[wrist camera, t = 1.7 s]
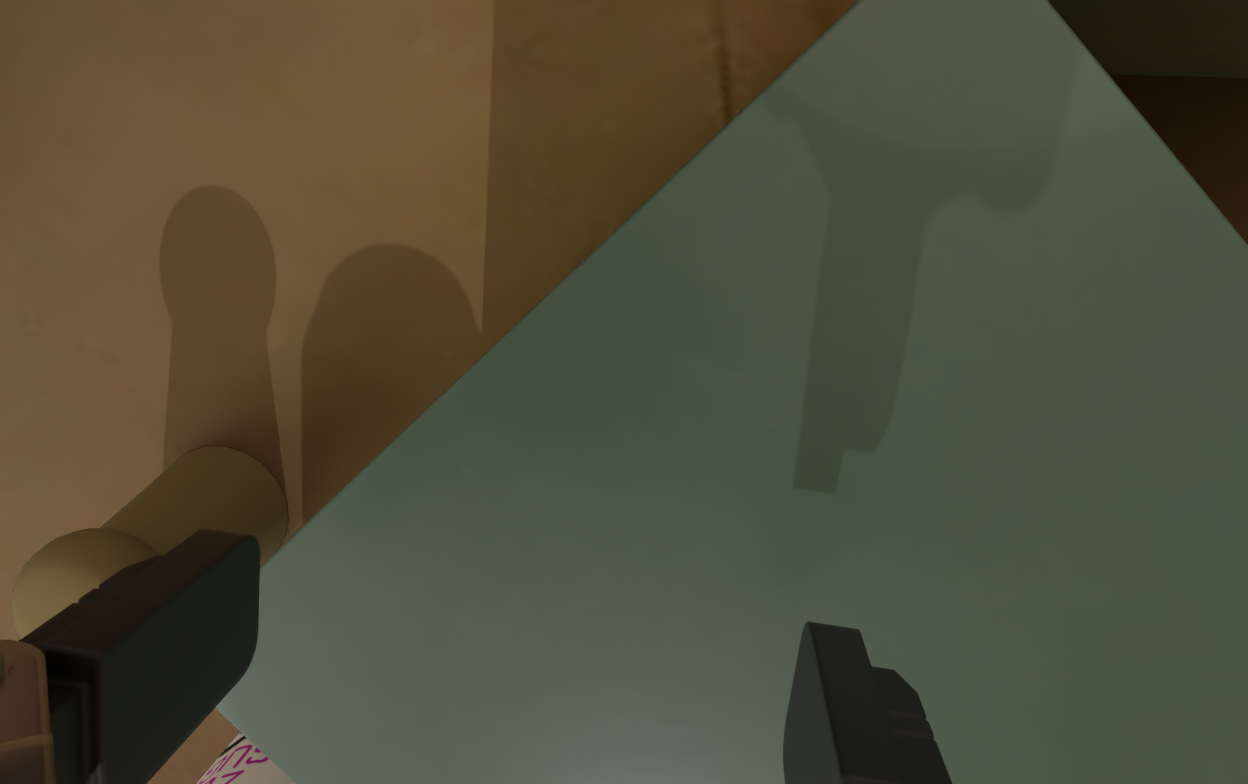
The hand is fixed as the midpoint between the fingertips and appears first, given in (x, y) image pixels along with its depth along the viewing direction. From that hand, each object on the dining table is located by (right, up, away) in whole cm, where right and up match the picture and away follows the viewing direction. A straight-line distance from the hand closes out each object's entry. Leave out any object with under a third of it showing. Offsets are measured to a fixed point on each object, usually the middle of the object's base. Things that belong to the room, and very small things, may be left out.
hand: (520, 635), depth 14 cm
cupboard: (+11, +1, +26) cm, 28 cm away
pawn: (-17, -2, +29) cm, 34 cm away
